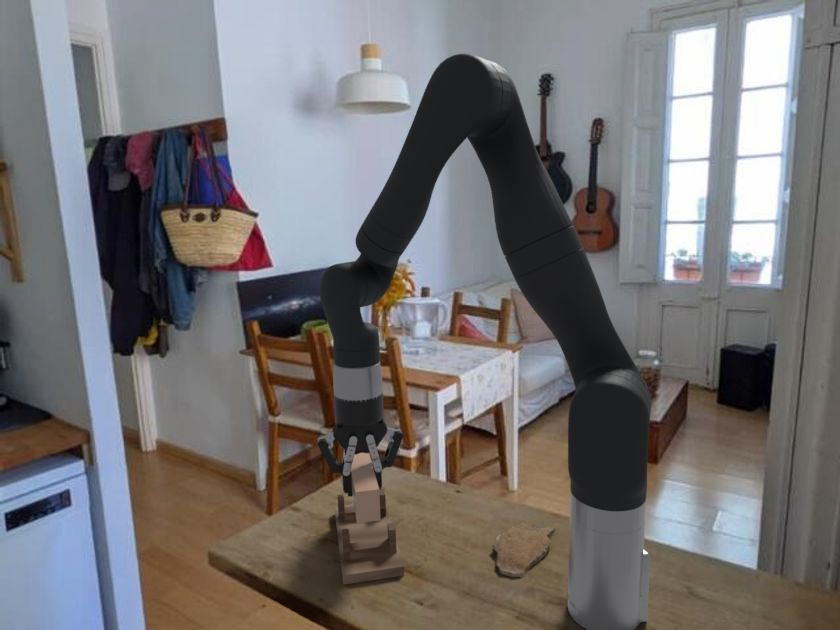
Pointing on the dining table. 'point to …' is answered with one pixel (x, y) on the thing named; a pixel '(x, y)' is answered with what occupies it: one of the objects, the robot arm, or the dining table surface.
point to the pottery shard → (522, 547)
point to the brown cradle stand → (367, 545)
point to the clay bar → (365, 489)
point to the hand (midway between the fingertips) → (362, 492)
